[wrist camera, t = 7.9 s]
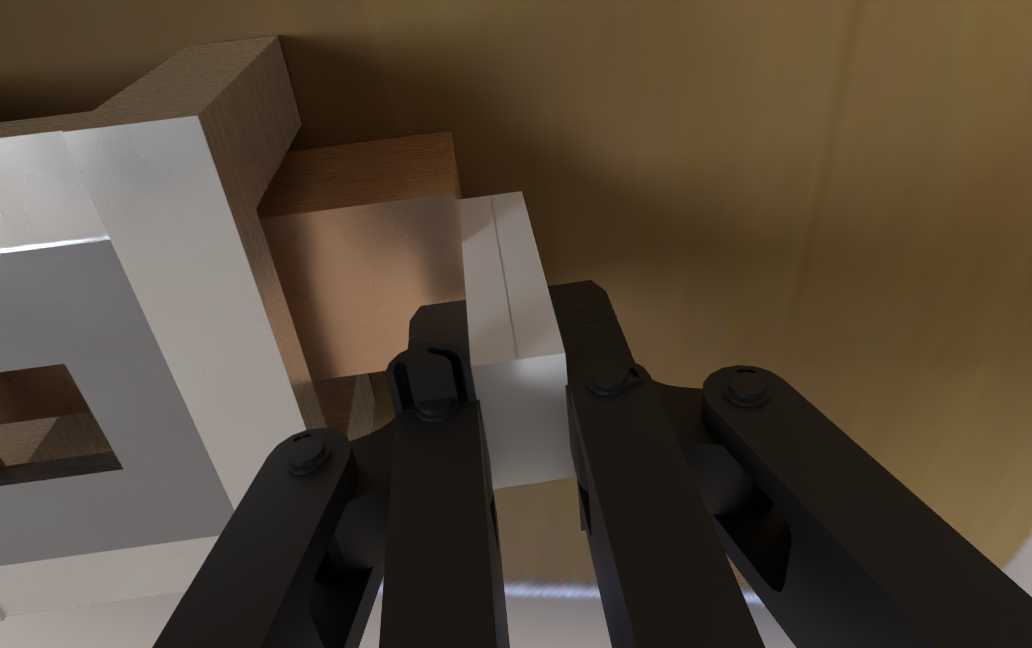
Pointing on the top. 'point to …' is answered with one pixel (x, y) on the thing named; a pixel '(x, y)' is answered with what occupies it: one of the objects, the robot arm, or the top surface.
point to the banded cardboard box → (333, 259)
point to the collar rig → (149, 327)
